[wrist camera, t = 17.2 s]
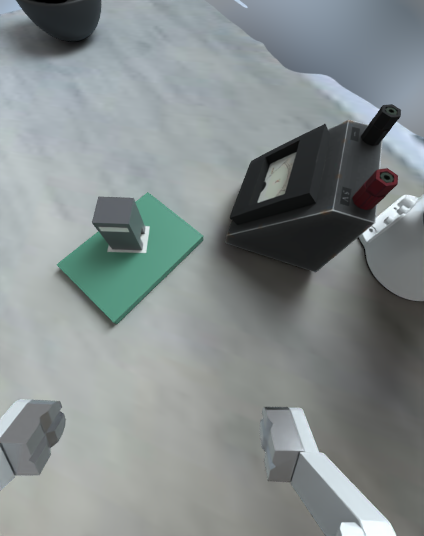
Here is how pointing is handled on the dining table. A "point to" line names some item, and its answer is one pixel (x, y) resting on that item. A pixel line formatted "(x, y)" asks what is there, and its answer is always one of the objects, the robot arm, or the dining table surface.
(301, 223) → the voltmeter
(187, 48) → the dining table surface
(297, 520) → the dining table surface
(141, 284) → the header board
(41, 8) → the coal bowl
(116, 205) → the block
